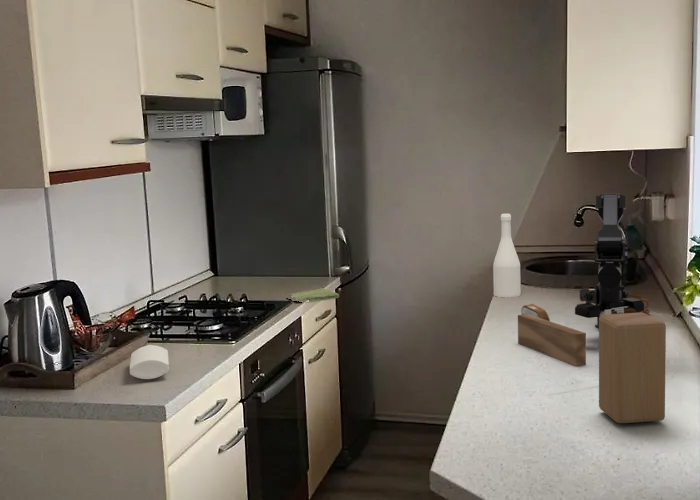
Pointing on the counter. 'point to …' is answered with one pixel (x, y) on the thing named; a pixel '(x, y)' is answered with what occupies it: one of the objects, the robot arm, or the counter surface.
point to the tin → (535, 311)
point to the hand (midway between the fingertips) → (609, 338)
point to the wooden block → (632, 367)
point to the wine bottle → (506, 264)
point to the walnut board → (552, 339)
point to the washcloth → (315, 295)
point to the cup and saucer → (638, 311)
